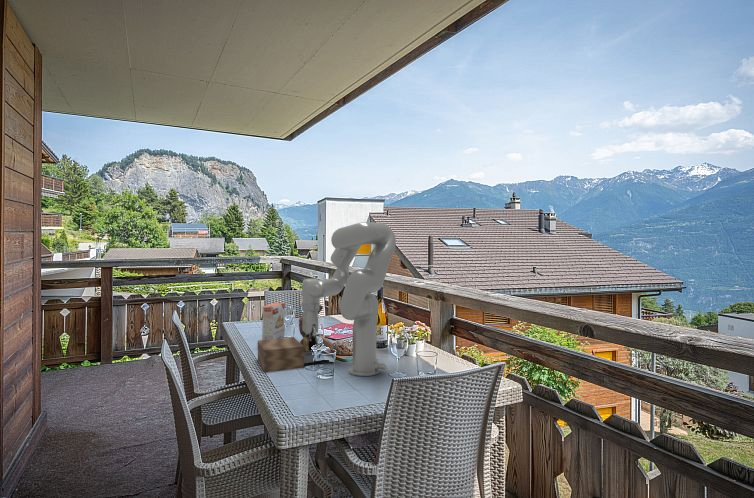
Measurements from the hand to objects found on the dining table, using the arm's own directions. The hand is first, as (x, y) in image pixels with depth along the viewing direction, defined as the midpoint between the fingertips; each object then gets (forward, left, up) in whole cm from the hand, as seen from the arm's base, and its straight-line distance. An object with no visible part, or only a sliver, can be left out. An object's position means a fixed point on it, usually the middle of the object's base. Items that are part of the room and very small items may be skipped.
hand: (310, 347), depth 188 cm
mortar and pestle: (+12, -26, -6) cm, 30 cm away
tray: (0, +1, -5) cm, 5 cm away
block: (0, 0, -1) cm, 1 cm away
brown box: (+10, +9, -5) cm, 14 cm away
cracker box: (+27, -16, -6) cm, 33 cm away
